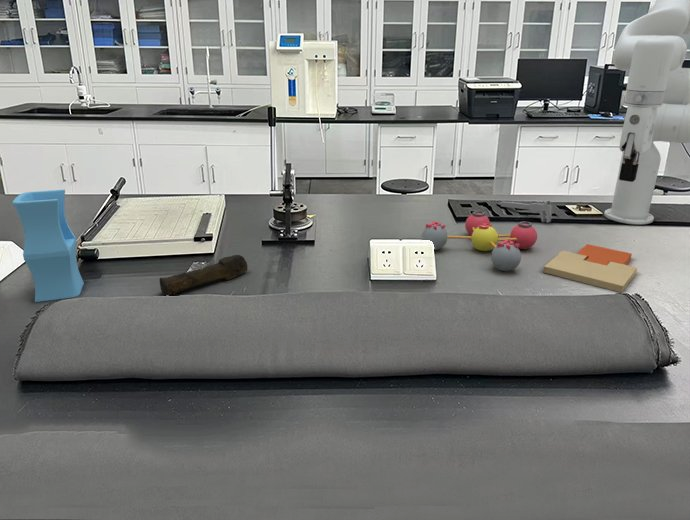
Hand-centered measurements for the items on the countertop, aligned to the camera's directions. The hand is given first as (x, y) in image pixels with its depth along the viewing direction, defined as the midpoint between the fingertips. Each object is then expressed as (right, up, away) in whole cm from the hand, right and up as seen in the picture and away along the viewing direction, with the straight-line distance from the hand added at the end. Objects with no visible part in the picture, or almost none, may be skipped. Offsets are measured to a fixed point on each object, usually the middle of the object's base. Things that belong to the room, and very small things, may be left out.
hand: (627, 180), depth 124 cm
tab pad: (-7, -19, -2) cm, 20 cm away
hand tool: (-95, -24, -12) cm, 99 cm away
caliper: (-14, -5, +32) cm, 35 cm away
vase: (-124, -25, -15) cm, 127 cm away
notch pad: (-12, -21, -8) cm, 26 cm away
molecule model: (-32, -16, +5) cm, 36 cm away
